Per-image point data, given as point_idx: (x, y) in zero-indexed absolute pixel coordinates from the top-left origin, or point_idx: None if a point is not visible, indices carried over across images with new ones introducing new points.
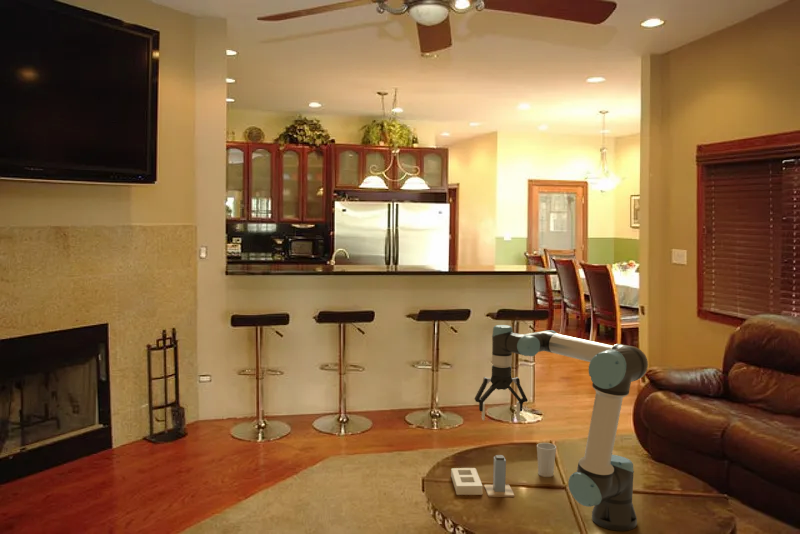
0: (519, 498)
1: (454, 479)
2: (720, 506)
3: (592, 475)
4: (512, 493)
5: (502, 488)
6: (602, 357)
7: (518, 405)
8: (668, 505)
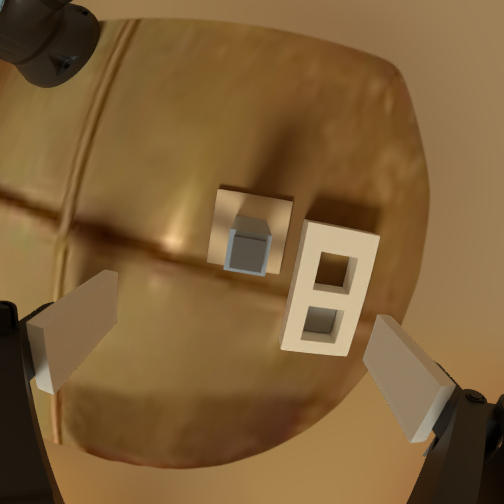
0: (208, 175)
1: (366, 287)
2: None
3: None
4: (219, 200)
5: (244, 217)
6: None
7: (49, 318)
8: None
